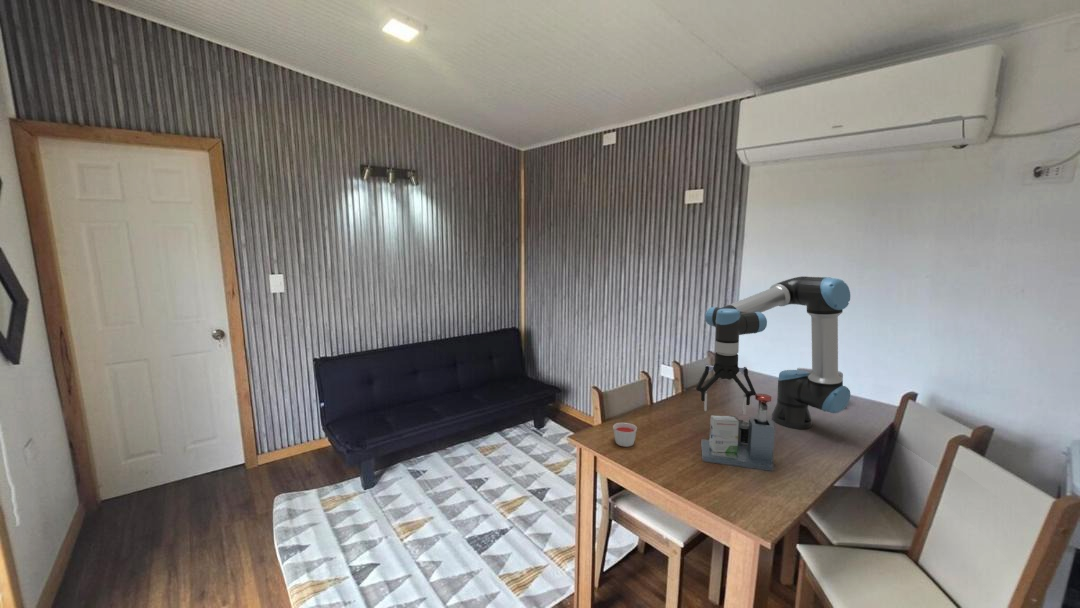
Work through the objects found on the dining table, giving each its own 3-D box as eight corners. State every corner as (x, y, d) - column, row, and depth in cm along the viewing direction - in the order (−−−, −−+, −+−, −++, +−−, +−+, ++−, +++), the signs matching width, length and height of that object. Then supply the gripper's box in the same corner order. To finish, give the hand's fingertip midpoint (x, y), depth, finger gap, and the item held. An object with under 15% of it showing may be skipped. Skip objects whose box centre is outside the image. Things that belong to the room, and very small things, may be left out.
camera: (754, 437, 166) (756, 413, 165) (755, 447, 158) (757, 422, 157) (712, 431, 173) (713, 408, 171) (711, 440, 165) (712, 415, 163)
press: (767, 452, 154) (769, 415, 152) (774, 471, 141) (777, 431, 139) (701, 444, 161) (702, 408, 160) (702, 461, 148) (704, 423, 146)
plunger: (766, 433, 151) (768, 392, 149) (771, 444, 142) (773, 401, 141) (751, 431, 153) (753, 391, 151) (754, 442, 144) (757, 399, 142)
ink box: (712, 452, 150) (714, 420, 149) (708, 445, 155) (710, 414, 154) (738, 453, 149) (739, 421, 148) (732, 446, 154) (734, 415, 153)
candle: (622, 450, 157) (623, 434, 156) (608, 440, 165) (608, 425, 164) (641, 445, 161) (641, 429, 160) (626, 436, 169) (626, 421, 168)
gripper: (763, 352, 147) (760, 411, 150) (689, 348, 155) (688, 404, 158) (767, 357, 140) (764, 419, 143) (689, 353, 148) (688, 411, 151)
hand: (724, 411), depth 151 cm, fingers open, 12 cm apart
